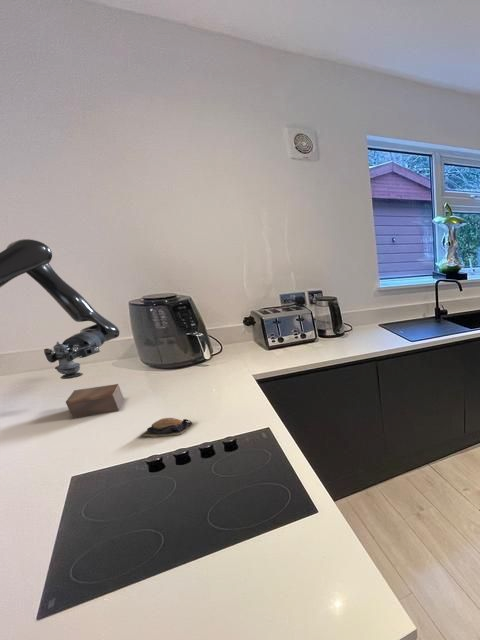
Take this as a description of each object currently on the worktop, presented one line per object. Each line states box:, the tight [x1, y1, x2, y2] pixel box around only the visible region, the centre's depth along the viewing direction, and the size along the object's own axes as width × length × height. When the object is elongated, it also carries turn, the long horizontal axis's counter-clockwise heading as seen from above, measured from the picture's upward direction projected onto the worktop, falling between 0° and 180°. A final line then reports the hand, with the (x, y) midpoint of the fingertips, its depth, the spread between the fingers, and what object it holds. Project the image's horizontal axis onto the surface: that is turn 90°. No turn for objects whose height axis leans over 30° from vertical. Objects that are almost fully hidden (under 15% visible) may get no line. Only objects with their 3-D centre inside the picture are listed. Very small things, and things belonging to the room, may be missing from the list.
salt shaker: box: [52, 341, 84, 380], centre depth 131 cm, size 6×6×12 cm
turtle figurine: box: [141, 417, 194, 437], centre depth 122 cm, size 11×8×4 cm
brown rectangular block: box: [65, 383, 125, 420], centre depth 134 cm, size 11×11×6 cm
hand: (59, 358), depth 128 cm, fingers closed on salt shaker, 3 cm apart
